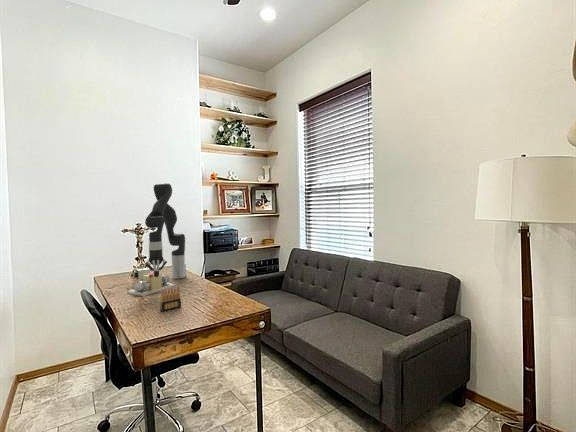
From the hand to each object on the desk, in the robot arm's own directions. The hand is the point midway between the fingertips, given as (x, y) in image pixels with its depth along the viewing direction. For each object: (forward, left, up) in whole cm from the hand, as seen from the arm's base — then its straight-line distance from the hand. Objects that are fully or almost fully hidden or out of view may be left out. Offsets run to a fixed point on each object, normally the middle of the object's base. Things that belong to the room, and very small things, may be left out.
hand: (156, 276), depth 196 cm
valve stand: (-6, -11, -11) cm, 16 cm away
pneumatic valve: (-12, -28, -11) cm, 32 cm away
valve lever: (-2, -6, 0) cm, 7 cm away
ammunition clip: (+17, +31, -11) cm, 37 cm away
